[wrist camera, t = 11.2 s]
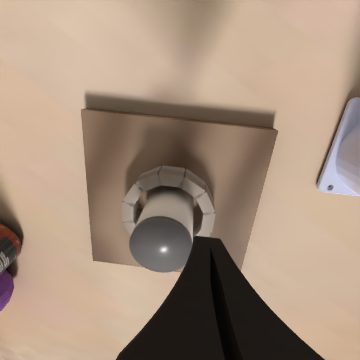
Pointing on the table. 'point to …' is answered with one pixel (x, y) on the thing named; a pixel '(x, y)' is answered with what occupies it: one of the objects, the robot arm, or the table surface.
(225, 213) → the board with ring socket
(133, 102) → the table surface
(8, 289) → the kendama
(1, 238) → the supplement bottle
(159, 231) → the plug
